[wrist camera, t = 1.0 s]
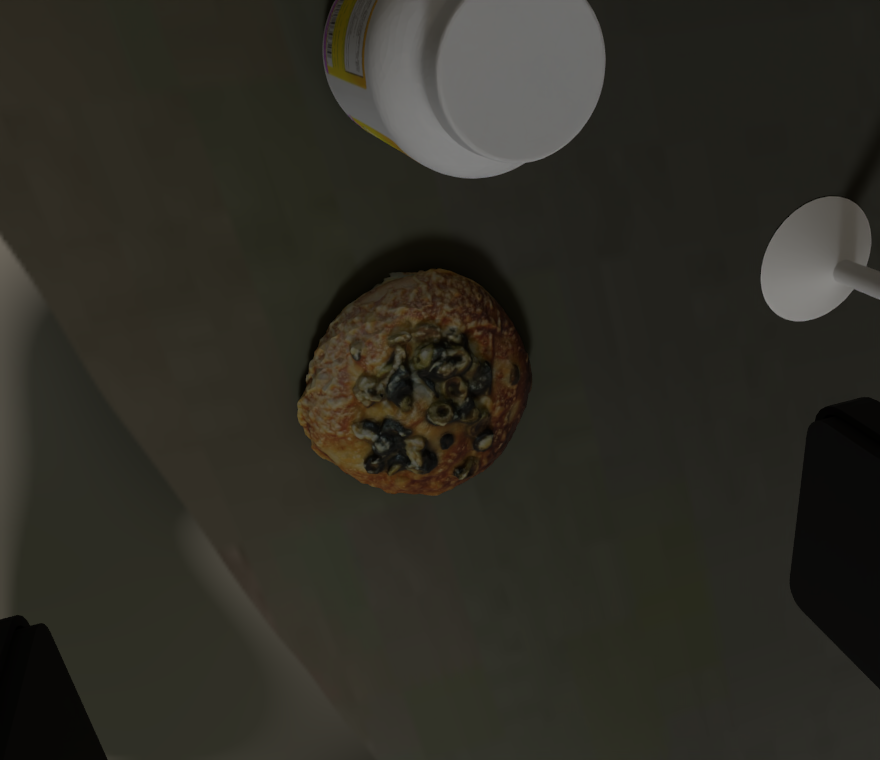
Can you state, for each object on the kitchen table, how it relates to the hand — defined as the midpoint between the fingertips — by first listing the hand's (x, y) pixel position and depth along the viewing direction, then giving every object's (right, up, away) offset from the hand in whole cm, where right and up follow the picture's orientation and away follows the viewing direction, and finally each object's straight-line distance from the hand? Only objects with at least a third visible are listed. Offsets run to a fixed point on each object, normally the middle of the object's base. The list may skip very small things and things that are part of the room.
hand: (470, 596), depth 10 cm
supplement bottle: (-2, +16, +22) cm, 27 cm away
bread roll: (-2, +3, +28) cm, 29 cm away
